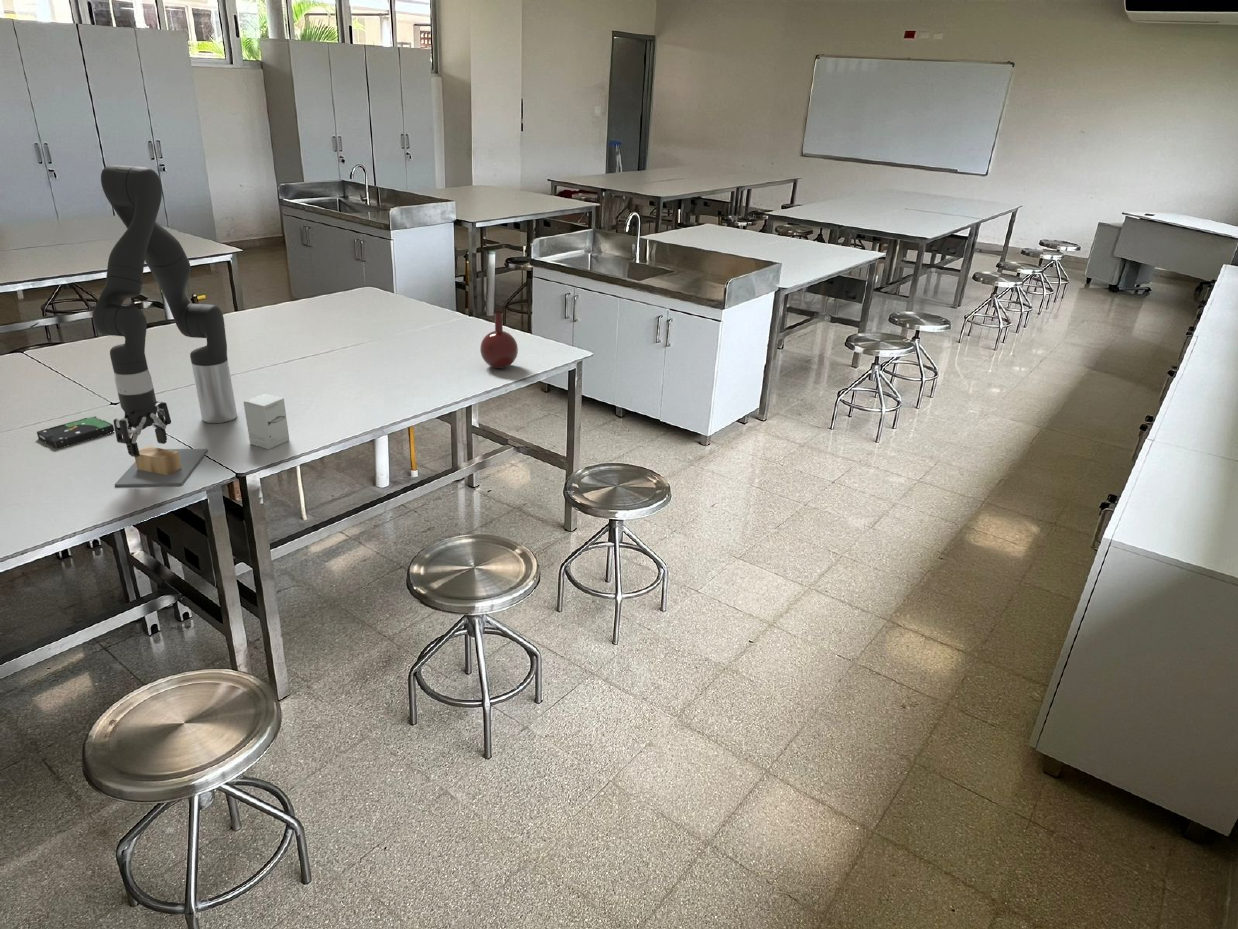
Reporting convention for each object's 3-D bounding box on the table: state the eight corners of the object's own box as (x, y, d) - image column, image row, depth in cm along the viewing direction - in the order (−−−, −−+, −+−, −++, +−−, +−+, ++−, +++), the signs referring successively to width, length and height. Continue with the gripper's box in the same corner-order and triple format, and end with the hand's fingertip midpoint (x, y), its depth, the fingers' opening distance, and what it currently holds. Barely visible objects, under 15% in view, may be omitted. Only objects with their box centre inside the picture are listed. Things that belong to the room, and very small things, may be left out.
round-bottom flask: (486, 374, 274) (485, 318, 266) (476, 363, 285) (475, 308, 276) (522, 371, 279) (522, 316, 271) (511, 360, 290) (511, 306, 281)
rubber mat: (146, 451, 207) (146, 449, 207) (207, 450, 210) (207, 448, 209) (114, 486, 190) (114, 484, 189) (182, 485, 192) (181, 483, 192)
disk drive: (57, 451, 206) (116, 433, 218) (55, 441, 205) (113, 423, 216) (38, 441, 211) (96, 423, 222) (35, 431, 210) (93, 414, 221)
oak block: (147, 446, 199) (178, 451, 197) (151, 462, 201) (181, 467, 199) (133, 453, 195) (164, 458, 193) (137, 469, 197) (167, 475, 195)
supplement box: (269, 450, 212) (262, 406, 207) (249, 444, 215) (242, 400, 209) (290, 440, 218) (284, 397, 213) (270, 434, 221) (264, 392, 215)
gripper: (123, 400, 182) (138, 463, 189) (171, 380, 194) (183, 440, 201) (97, 395, 184) (113, 458, 191) (145, 376, 196) (158, 436, 203)
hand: (149, 449), depth 196 cm, fingers open, 8 cm apart
